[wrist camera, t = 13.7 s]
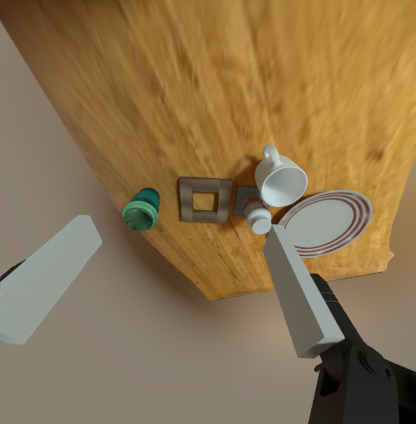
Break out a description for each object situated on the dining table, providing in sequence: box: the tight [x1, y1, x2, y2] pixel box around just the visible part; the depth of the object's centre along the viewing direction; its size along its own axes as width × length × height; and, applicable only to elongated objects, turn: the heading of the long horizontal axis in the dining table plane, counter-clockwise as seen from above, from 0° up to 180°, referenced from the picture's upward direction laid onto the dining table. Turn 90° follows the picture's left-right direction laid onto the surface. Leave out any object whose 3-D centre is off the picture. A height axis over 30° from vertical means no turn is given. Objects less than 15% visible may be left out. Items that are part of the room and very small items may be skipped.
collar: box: [179, 177, 233, 224], centre depth 46 cm, size 14×14×2 cm
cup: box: [122, 188, 160, 231], centre depth 42 cm, size 8×8×12 cm
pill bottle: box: [242, 195, 272, 234], centre depth 42 cm, size 6×6×11 cm
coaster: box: [233, 186, 269, 216], centre depth 47 cm, size 10×10×1 cm
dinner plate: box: [278, 190, 373, 258], centre depth 50 cm, size 27×27×3 cm
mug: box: [255, 144, 308, 207], centre depth 35 cm, size 12×9×12 cm
